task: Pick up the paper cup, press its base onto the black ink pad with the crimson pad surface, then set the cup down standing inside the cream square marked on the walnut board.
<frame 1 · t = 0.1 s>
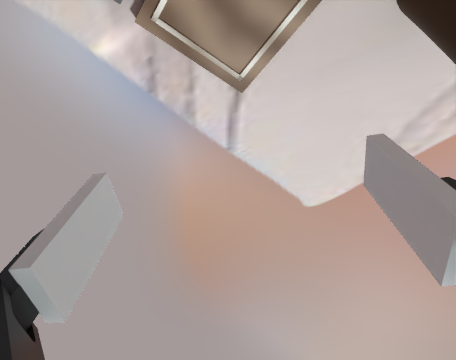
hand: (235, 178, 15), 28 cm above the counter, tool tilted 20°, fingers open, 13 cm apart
marked board: (230, 1, 34), on the counter
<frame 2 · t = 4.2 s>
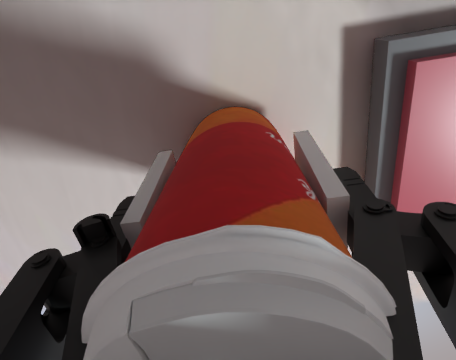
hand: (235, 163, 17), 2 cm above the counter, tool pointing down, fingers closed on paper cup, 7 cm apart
paper cup: (235, 148, 19), on the counter, touching gripper
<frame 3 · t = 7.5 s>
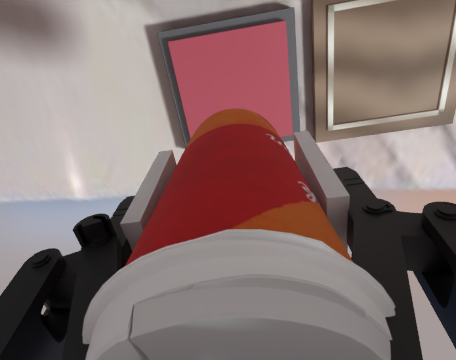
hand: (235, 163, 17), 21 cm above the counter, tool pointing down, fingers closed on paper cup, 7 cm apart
ink pad: (234, 87, 35), on the counter
paper cup: (235, 149, 19), point 18 cm above the counter, touching gripper
marked board: (385, 62, 33), on the counter
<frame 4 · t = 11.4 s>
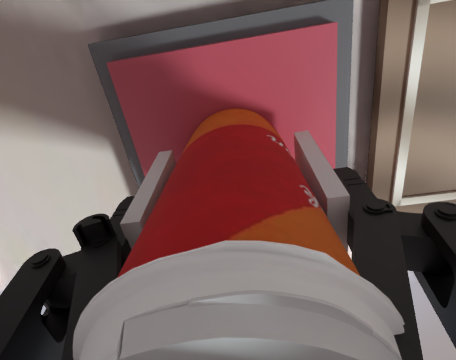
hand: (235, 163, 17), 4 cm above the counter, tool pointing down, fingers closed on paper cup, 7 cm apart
ink pad: (234, 136, 20), on the counter
paper cup: (235, 150, 18), point 2 cm above the counter, touching gripper, ink pad
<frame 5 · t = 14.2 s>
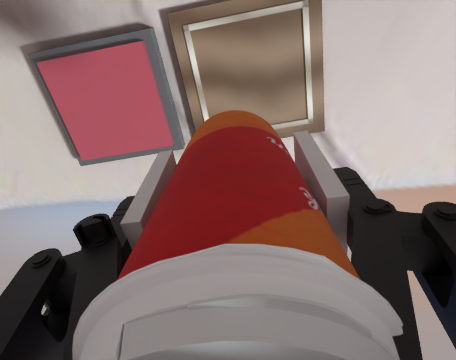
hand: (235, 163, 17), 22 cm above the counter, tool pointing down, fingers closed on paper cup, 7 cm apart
ink pad: (116, 101, 37), on the counter
paper cup: (235, 151, 18), point 20 cm above the counter, touching gripper
marked board: (252, 76, 35), on the counter
when the fingers open (5 cm above the counter, at t = 17.1 s): paper cup stays where it is, resting on marked board.
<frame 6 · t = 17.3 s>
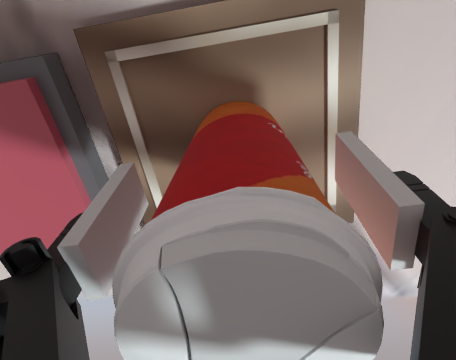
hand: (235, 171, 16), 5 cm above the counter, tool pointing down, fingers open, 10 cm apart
ink pad: (10, 168, 22), on the counter
paper cup: (239, 140, 20), point 1 cm above the counter, touching marked board
marked board: (235, 135, 21), on the counter
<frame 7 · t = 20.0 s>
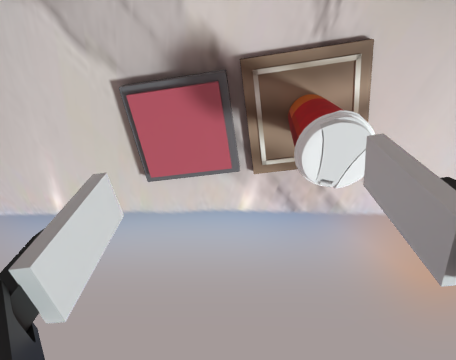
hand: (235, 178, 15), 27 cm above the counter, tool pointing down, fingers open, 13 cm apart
ink pad: (184, 128, 42), on the counter
paper cup: (308, 114, 40), point 1 cm above the counter, touching marked board
marked board: (305, 112, 41), on the counter
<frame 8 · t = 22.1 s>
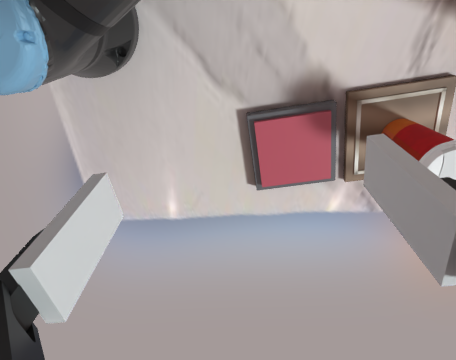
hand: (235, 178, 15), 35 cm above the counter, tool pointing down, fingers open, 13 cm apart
ink pad: (291, 146, 51), on the counter
paper cup: (397, 133, 49), point 1 cm above the counter, touching marked board
marked board: (393, 131, 50), on the counter
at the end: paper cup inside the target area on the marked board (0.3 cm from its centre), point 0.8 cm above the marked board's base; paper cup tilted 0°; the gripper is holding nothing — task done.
